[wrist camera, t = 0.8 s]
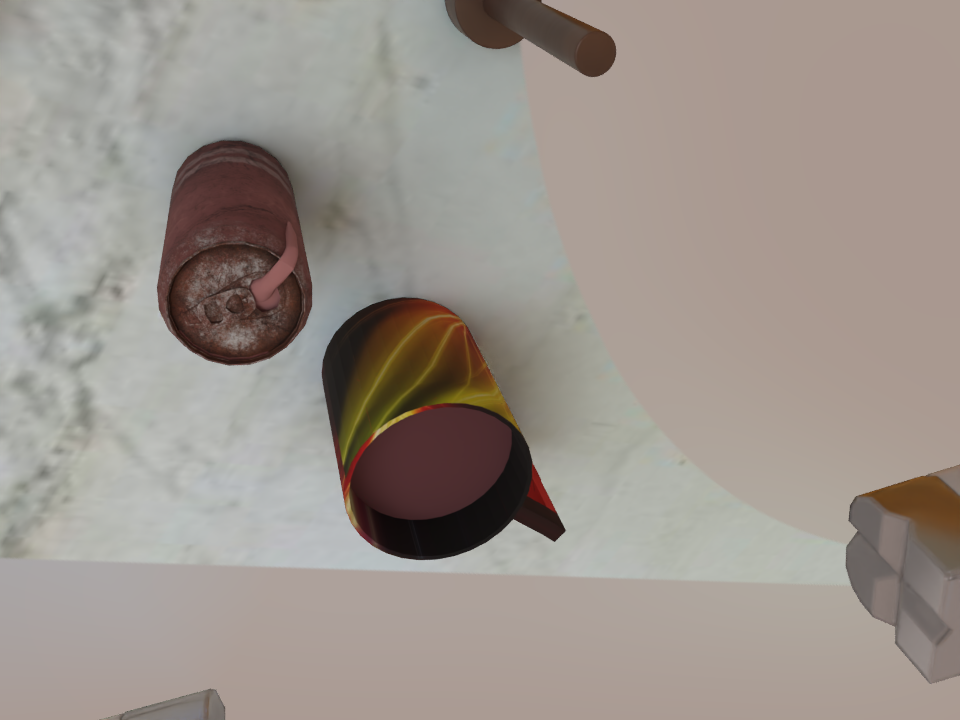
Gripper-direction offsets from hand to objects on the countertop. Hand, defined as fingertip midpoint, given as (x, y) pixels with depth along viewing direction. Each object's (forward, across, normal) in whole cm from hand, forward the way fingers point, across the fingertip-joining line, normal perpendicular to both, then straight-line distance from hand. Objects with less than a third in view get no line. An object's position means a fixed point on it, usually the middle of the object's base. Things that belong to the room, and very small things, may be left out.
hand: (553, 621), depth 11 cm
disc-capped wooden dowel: (+40, -9, 0) cm, 41 cm away
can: (+40, +6, +7) cm, 41 cm away
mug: (+40, -3, +20) cm, 45 cm away
